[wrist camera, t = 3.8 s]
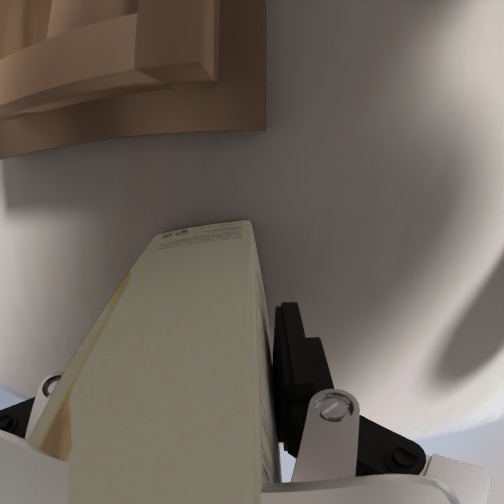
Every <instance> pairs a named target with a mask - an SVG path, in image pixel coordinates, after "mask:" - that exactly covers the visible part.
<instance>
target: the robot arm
mask: <svg viewBox="0 0 504 504" xmlns="http://www.w3.org/2000/svg"><path fill="white" fill-rule="evenodd" d="M272 369H273V381H274V395H275V409H276V422H277V436H278V443H280V442H283V443H284V451H288V453H289V454H290V455H292V456H293V457H295V458H296V463H295V467H294V471H293V475H292V479H291V482H289V483H264V484H263V486H262V489H261V492H260V504H487V501H488V497H489V493H490V488H491V477H490V474H489V473H488V472H487V471H486V470H485V469H484V468H482V467H479V466H475V465H472V464H468V463H464V462H460V461H457V460H453V459H450V458H446V457H443V456H440V455H437V454H433V455H432V456H428V455H425V452H424V450H423V449H422V448H421V447H420V445H418V444H417V443H415V442H414V441H411V440H409V439H407V438H405V437H403V436H401V435H399V434H397V433H395V432H393V431H391V430H389V429H387V428H385V427H383V426H381V425H379V424H377V423H375V422H373V421H371V420H369V419H367V418H365V417H363V416H361V415H359V413H360V408H359V403H358V402H357V400H356V398H355V397H354V396H352V395H351V394H350V393H348V392H346V391H343V390H339V389H334V386H333V382H332V378H331V375H330V371H329V367H328V364H327V360H326V357H325V353H324V350H323V346H322V343H321V340H320V338H319V337H314V338H306V337H305V333H304V328H303V324H302V320H301V316H300V311H299V307H298V303H297V302H282V304H281V306H276V310H275V328H274V345H273V361H272ZM63 373H64V372H56V373H53V374H50V375H48V376H47V377H45V378H44V379H43V380H42V381H41V383H40V385H39V387H38V391H37V394H36V397H34V398H31V399H29V400H26V401H23V402H21V403H18V404H16V405H13V406H11V407H8V408H6V409H3V410H0V504H68V490H69V466H70V463H67V462H65V461H63V460H60V459H58V458H56V457H54V456H52V455H50V454H48V453H46V452H44V451H42V450H40V449H38V448H36V447H35V446H33V445H31V444H29V443H28V440H29V438H30V436H31V434H32V432H33V429H34V427H35V425H36V423H37V421H38V419H39V418H40V416H41V414H42V412H43V410H44V408H45V406H46V404H47V402H48V400H49V398H50V397H51V395H52V393H53V391H54V389H55V388H56V386H57V384H58V382H59V381H60V379H61V377H62V375H63Z"/></svg>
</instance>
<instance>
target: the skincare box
mask: <svg viewBox="0 0 504 504" xmlns="http://www.w3.org/2000/svg"><path fill="white" fill-rule="evenodd" d="M28 443H29V444H31V445H33V446H35V447H36V448H38V449H40V450H42V451H44V452H46V453H48V454H50V455H52V456H54V457H56V458H58V459H60V460H63V461H65V462H67V463H70V466H69V490H68V504H260V492H261V489H262V486H263V484H264V483H282V476H281V464H280V449H279V443H278V436H277V422H276V409H275V395H274V381H273V369H272V350H271V338H270V328H269V320H268V312H267V305H266V298H265V292H264V286H263V280H262V274H261V268H260V263H259V257H258V252H257V247H256V242H255V237H254V232H253V228H252V224H251V221H249V220H242V221H235V222H226V223H218V224H211V225H204V226H197V227H191V228H185V229H180V230H175V231H170V232H165V233H161V234H157V235H155V236H154V238H153V239H152V240H151V242H150V243H149V245H148V246H147V247H146V248H145V250H144V251H143V253H142V254H141V255H140V257H139V258H138V259H137V261H136V262H135V263H134V265H133V266H132V268H131V269H130V271H129V272H128V274H127V275H126V277H125V278H124V279H123V281H122V282H121V284H120V285H119V287H118V288H117V290H116V291H115V293H114V294H113V296H112V297H111V298H110V300H109V301H108V303H107V304H106V306H105V307H104V309H103V310H102V312H101V313H100V315H99V316H98V318H97V319H96V321H95V322H94V324H93V325H92V327H91V328H90V330H89V332H88V333H87V335H86V337H85V338H84V340H83V342H82V343H81V345H80V346H79V348H78V350H77V351H76V353H75V355H74V356H73V358H72V359H71V361H70V363H69V365H68V366H67V368H66V370H65V372H64V373H63V375H62V377H61V379H60V381H59V382H58V384H57V386H56V388H55V389H54V391H53V393H52V395H51V397H50V398H49V400H48V402H47V404H46V406H45V408H44V410H43V412H42V414H41V416H40V418H39V419H38V421H37V423H36V425H35V427H34V429H33V432H32V434H31V436H30V438H29V440H28Z"/></svg>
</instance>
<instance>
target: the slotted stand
mask: <svg viewBox="0 0 504 504" xmlns="http://www.w3.org/2000/svg"><path fill="white" fill-rule="evenodd" d="M230 130H260V131H266V0H0V160H1V159H5V158H9V157H13V156H17V155H21V154H26V153H30V152H35V151H40V150H44V149H49V148H55V147H60V146H66V145H72V144H78V143H84V142H90V141H97V140H105V139H112V138H121V137H130V136H139V135H150V134H162V133H177V132H196V131H230Z"/></svg>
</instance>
